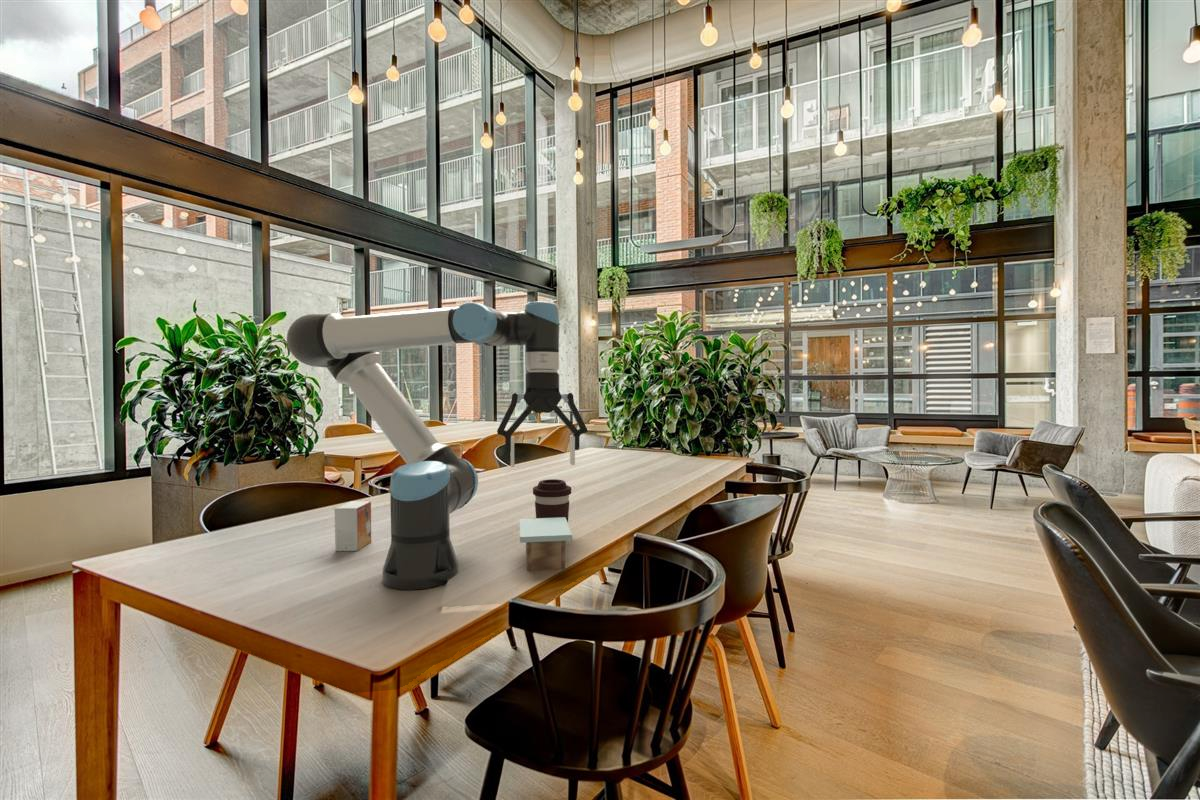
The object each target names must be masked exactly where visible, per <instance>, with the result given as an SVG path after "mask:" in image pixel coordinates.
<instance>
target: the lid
mask: <svg viewBox="0 0 1200 800" xmlns="http://www.w3.org/2000/svg"><path fill="white" fill-rule="evenodd" d="M572 540H573V533H572V531H571V529H570V526H569V522H568V523H567V520H566V517H559V518H536V517H535V518H519V544H521V543H525V544H526V542H547V541H565V542H567V541H572Z"/></svg>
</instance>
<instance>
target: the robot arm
mask: <svg viewBox="0 0 1200 800" xmlns="http://www.w3.org/2000/svg"><path fill="white" fill-rule="evenodd" d="M559 319H560V318H559V307H558V305H557V304H556V303H553V302H552V301H551V302H550V301H528V302H527V303H526V304H525V309H524V311H518V312H516V311H515V312H513V311H512V312H511V311H507V312H506V311H499V310H497V309H495V308H492V307H489V306H488V305H487V304H485V303H482V302H473V301H472V302H471V301H468V302H465V303H463V304H461V305H459V306H455V307H454V306H451V307H440V308H430V309H429V308H428V309H420V310H419V309H418V310H409V311H407V310H406V311H398V312H386V313H376V314H366V315H355V316H342V315H341V314H339V313H335V312H333V313H323V314H322V313H321V314H320V313H319V314H317V313H312V314H311V313H310V314H306V315H302V316H300V317H299V318H296V319H295V320H294V321H293V322H292V323H291V325H290V326H289V328H288V331H287V333H286V343H287V347H288V350H289V352H290V354H291V355H293V357H294V358H295V359H296V360H298V361H299V362H300V363H302V364H304V365H307V366H311V367H315V368H316V367H317V368H326V369H327V370H328V371H329V373H330V374H331V375H332V377H333V378H334V379H335V380H336V382H337V383H338V384H341V385H346V386H348V387H349V388H350V390H351V391H352V392H353V393H354V395H355V396H356V397H357V399H358V400H359V401H360V403H361V404H362V406H363V407H364V408H365V410H366V411H367V413H368V414H369V415H370V416H371V418H372V419H373V421H374V422H375V423H376V424H377V426H378V427H379V429H380V430H381V431H382V432H383V434H384V435H385V436H386V438H387V439H388V440H389V442H390V443H391V445H392V446H393V448H395V450H396V451H397V453H398V454H399V455H400V457H401V458H402V460H403V461H404V462H405V464H404V465H400V466H398V467H397V468H395V469H394V470H393V472H392V473H391V475H390V476H391V477H390V484H389V497H390V498H389V499H390V503H389V504H390V534H391V535H390V536H391V537H390V546H389V549H388V551H387V552H388V553H387V555H386V558H385V561H384V564H383V567H382V573H381V574H382V584H384V585H385V586H387V587H388V588H392V589H396V590H405V591H407V590H410V591H411V590H422V589H423V590H424V589H429V588H433V587H439V586H441V585H444V584H447V583H448V581H449V580H450V579H453V578H454V577H455V576H456V575H457V574H458V572H459V561H458V558H457V555H456V551H455V549H454V546H453V543H452V541H451V540H452V539H451V536H450V535H451V534H450V514H451V513H453V512H455V511H457V510H459V509H462V508H463V507H464V506H466V505H468V503H469V502H470V501H472V499H473V498H474V496H475V495H476V492H477V490H478V486H479V477H478V473H477V470H476V469H475V466H474V465H473V464H472V463H471V462H470V461H468V460H467V459H465V458H462V457H459V456H457V454H456V453H455V452H454V450H453V449H452V448H451V446H450V445H449V444H445V443H441V442H439V441H438V439H436V437H435V436H434V434H433V433H432V431H430V429H429V428H428V427H427V425H426V423H424V421H423V420H422V419H421V417H420V416H419V414H418V413H417V412H416V410H415V409H414V407H413V406H412V405H411V404H410V402H409V401H408V400H407V398H406V397H405V396H404V394H403V393H402V391H401V390H400V389H399V388H398V386H397V385H396V383H394V381H393V379H392V378H391V377H390V376H389V375H388V373H387V372H386V370H385V369H384V367H383V366H382V364H381V363H382V359H383V356H382V353H380V351H388V350H401V349H411V348H419V347H420V348H422V347H431V346H445V345H455V344H471V343H475V344H476V345H477V346H485V347H494V346H501V347H502V346H524V347H525V370H526V371H527V372H526V373H525V392H524V394H522V393H521V394H520V393H516V392H513V393H511V398H510V404H509V406H508V407H507V410H506V412H505V414H504V416H503V417H502V420H501V422H500V424H499V426H498V428H497V430H496V432H497V435H500V436H503V437H504V438H505V441H504V443H505V444H504V449H505V451H506V452H507V453H509V452H510V454H509V455H510V468H515V436H513V434H514V433H515V432H516V431H517V429H519V427H520V426H521V424H522V423H523V422H524V421H525V420H526V419H527V417H528V416H529V415H530V414H531V413H532V412H533V413H536V414H541V413H546V414H551V413H552V412H554V413H555V415H557V416H558V418H559V419H560V420H561V421H562V423H563V424H564V425H565V427H567V428H568V429H569V430H570V432H571V433H572V435H569V464H570V465H571V466H575V465H576V451H578V450H579V449H580V436H581V435H583V434H586V433H587V432H588V427H587V426H586V424H585V421H584V420H583V418H582V416H581V414H580V412H579V410H578V408H577V406H576V404H575V401H574V400H575V399H574V394H573V393H572V392H567V393H560V374H559V372H557V371H559V370H560V322H559V321H560V320H559ZM522 400H524V401H525V403H526V405H527V406H526V407H525V408H524V410H523V411H522V412H521V413H520V415H519V416H518V417H517V418H516V419H515V421H514V422H513V423H512V424H511V425H510V427H508V428H507V430H506V427H507V424H508V423H509V421H510V419H511V416H512V415H513V413H514V411H515V410H516V407H517V404H520V402H521V401H522ZM561 400H563V402H564V403H567V405H568V408H569V410H570V412H571V414H572V416H573V418H574V420H575V422H576V423H577V426H578V428H577V427H576V426H575V425H574V424H573V423H572V421H571V420H569V418H568V417H567V416H566V414H564V412H563V410H561V408H559V406H558V404H559V403H560V401H561Z"/></svg>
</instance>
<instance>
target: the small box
mask: <svg viewBox="0 0 1200 800" xmlns="http://www.w3.org/2000/svg"><path fill="white" fill-rule="evenodd" d="M371 542H372V502H371V501H363V500H362V501H361V500H358V501H356V500H355V501H354V500H353V501H352V500H351V501H348V502H347V503H344V504H343V505H340V506H338V507H335V508H334V546H335V547H334V549H335V550H334V551H335V552H357V551H359V550H361V549H362V548H364V547H366V546H367V545H368V544H370V543H371Z"/></svg>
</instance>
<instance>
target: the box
mask: <svg viewBox="0 0 1200 800" xmlns="http://www.w3.org/2000/svg"><path fill="white" fill-rule="evenodd" d="M565 549H566V541H547V542H525V555H526V559H525V560H526V569H527V570H526V571H529V572H530V571H549V570H550V571H551V570H564V569H566V564H565V563H566V555H565V554H566V550H565Z"/></svg>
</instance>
